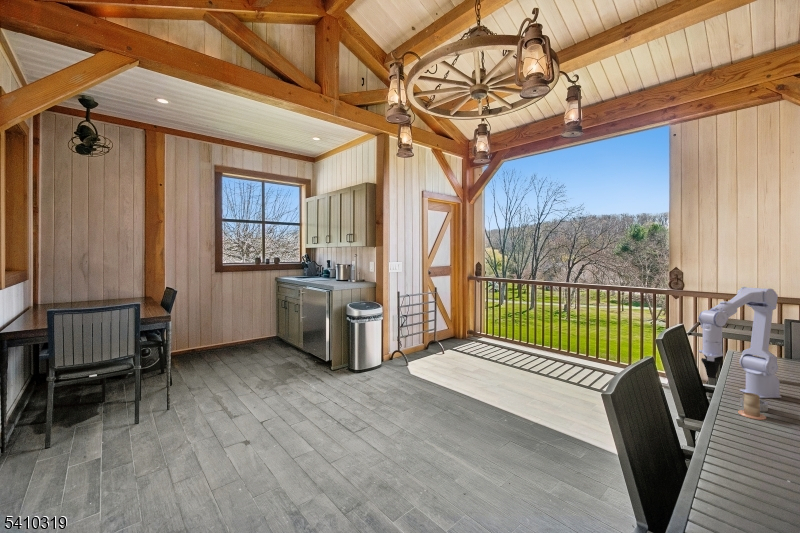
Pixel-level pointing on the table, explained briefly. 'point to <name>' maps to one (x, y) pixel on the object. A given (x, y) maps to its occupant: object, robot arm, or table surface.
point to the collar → (762, 405)
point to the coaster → (752, 416)
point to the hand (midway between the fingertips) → (712, 375)
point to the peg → (752, 404)
